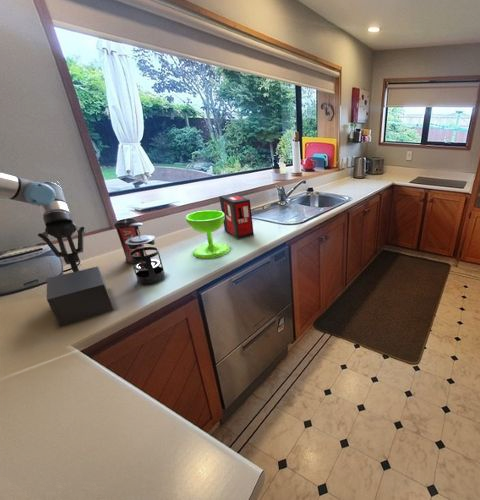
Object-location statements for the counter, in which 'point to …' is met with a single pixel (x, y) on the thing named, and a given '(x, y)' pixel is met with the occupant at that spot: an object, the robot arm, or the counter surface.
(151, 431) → the counter surface
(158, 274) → the french press
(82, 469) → the counter surface
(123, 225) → the red canister
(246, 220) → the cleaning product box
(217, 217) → the wineglass
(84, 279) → the cabinet
